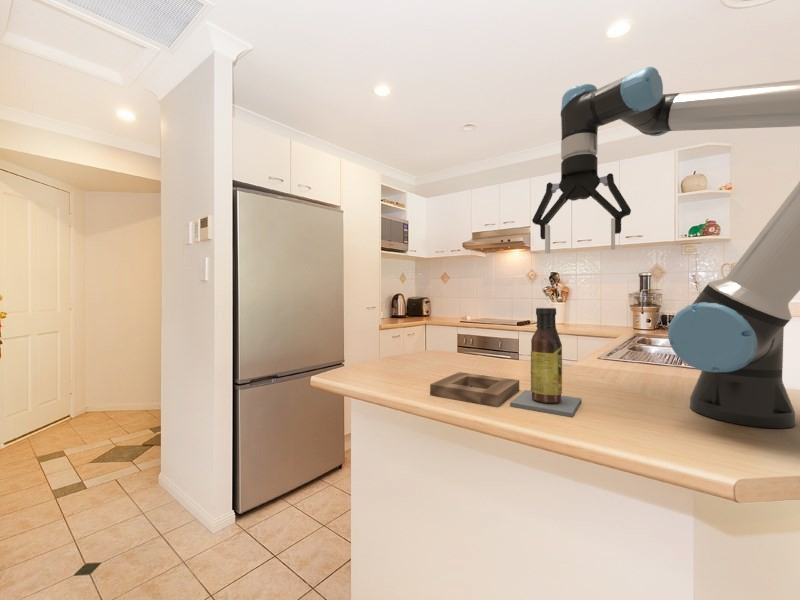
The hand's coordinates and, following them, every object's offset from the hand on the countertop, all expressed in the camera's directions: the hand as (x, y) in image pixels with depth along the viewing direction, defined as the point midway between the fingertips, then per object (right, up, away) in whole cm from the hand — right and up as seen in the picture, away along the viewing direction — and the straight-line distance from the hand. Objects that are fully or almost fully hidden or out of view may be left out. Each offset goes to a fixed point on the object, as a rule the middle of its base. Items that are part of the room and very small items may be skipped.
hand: (579, 251), depth 85 cm
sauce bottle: (-10, -33, -6) cm, 35 cm away
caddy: (-23, -33, +3) cm, 41 cm away
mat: (-10, -34, -6) cm, 36 cm away
